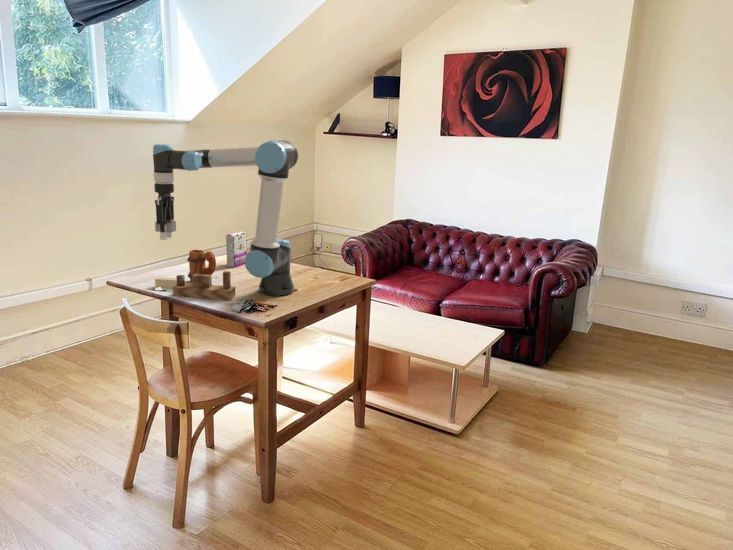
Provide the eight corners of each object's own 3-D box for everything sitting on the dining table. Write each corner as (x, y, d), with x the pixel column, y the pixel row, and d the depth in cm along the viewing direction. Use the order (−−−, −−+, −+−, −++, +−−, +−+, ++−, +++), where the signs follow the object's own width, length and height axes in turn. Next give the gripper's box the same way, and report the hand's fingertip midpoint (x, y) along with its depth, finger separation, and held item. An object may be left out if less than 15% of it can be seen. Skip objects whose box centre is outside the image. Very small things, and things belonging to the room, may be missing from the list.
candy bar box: (239, 262, 294) (238, 231, 290) (247, 263, 292) (247, 232, 288) (226, 266, 284) (225, 234, 280) (234, 268, 282) (234, 235, 278)
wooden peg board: (235, 295, 239) (235, 270, 236) (230, 300, 232) (229, 274, 229) (179, 291, 240) (179, 266, 237) (173, 296, 233) (172, 270, 231)
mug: (183, 281, 255) (182, 249, 251) (196, 278, 262) (195, 246, 258) (208, 287, 248) (207, 254, 244) (221, 283, 255) (220, 250, 251)
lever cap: (176, 230, 240) (175, 219, 239) (171, 232, 236) (171, 221, 235) (160, 229, 241) (159, 218, 240) (155, 231, 237) (155, 220, 235)
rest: (184, 285, 250) (183, 276, 248) (174, 291, 240) (174, 282, 239) (162, 283, 250) (161, 275, 249) (151, 290, 241) (151, 281, 240)
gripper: (164, 180, 242) (166, 234, 248) (145, 184, 225) (148, 242, 231) (181, 181, 242) (183, 235, 248) (163, 185, 225) (166, 243, 231)
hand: (166, 238), depth 239 cm, fingers closed on lever cap, 4 cm apart
